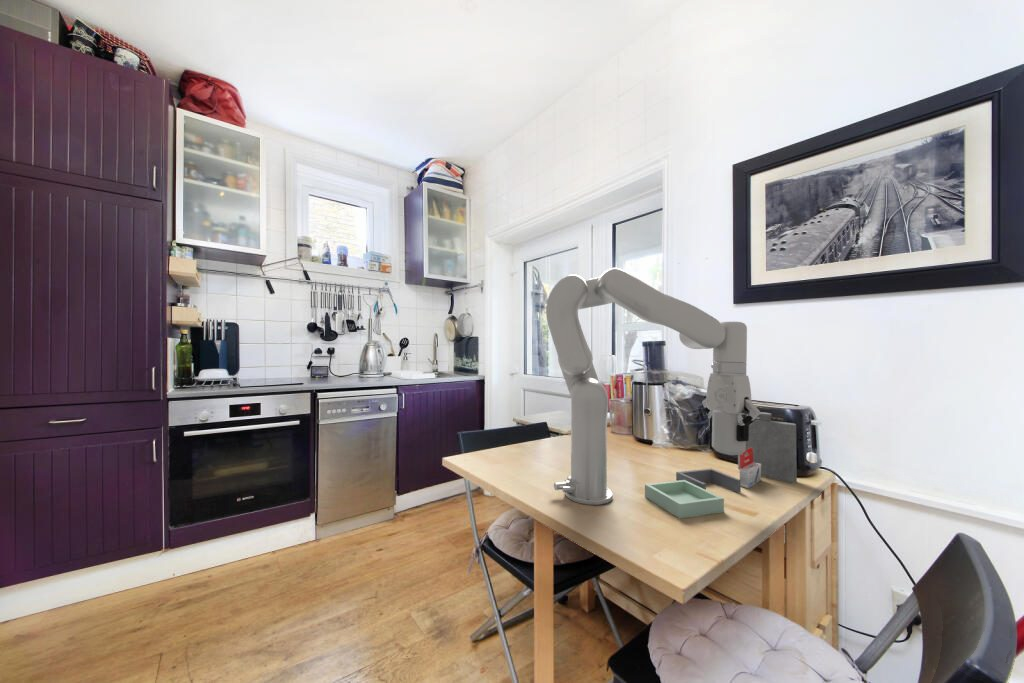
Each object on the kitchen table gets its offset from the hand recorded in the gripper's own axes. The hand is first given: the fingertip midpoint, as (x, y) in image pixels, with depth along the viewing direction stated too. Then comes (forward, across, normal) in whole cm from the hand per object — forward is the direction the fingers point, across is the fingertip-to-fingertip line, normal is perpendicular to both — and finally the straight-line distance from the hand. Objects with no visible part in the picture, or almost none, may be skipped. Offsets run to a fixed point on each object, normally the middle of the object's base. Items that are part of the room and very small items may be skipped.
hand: (728, 436), depth 93 cm
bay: (+17, -9, +4) cm, 20 cm away
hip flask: (+17, -14, +31) cm, 38 cm away
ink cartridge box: (+17, -10, +20) cm, 28 cm away
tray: (+18, -3, -11) cm, 21 cm away
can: (+4, 0, 0) cm, 4 cm away
